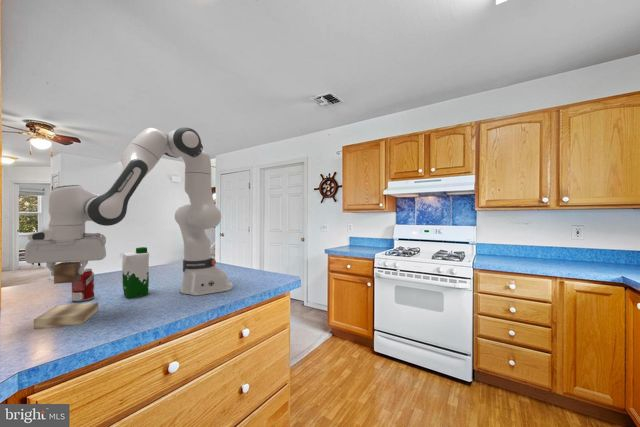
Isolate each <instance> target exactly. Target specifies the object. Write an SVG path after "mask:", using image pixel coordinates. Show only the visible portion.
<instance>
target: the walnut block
mask: <svg viewBox="0 0 640 427" xmlns="http://www.w3.org/2000/svg"><path fill="white" fill-rule="evenodd" d="M81 266H82V264H80V261H74V262H58V263H57V264H55V265H54V276H53V284H54V285H55V284H72V283H73V282H75V281H77V280H79V279H81V274H80V275H76V269H80V267H81Z"/></svg>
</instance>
